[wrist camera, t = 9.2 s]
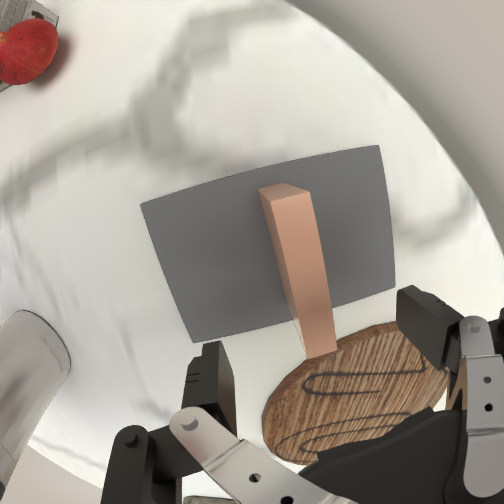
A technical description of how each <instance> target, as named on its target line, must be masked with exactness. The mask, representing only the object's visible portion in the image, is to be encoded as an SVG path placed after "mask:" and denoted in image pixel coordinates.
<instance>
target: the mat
mask: <svg viewBox="0 0 504 504" xmlns="http://www.w3.org/2000/svg"><path fill="white" fill-rule="evenodd" d="M282 182H284V183H286V184H289V185H292V186H295V187H298V188H301V189H303V190H306V191H309V192H310V196H311V201H312V205H313V210H314V214H315V219H316V224H317V228H318V233H319V238H320V243H321V248H322V254H323V259H324V265H325V270H326V276H327V282H328V288H329V294H330V300H331V307H332V308H335V307H338V306H341V305H344V304H347V303H351V302H354V301H357V300H360V299H363V298H366V297H369V296H372V295H374V294H377V293H380V292H383V291H386V290H389V289H391V288H394V287H395V263H394V247H393V235H392V225H391V216H390V207H389V200H388V193H387V186H386V180H385V174H384V168H383V163H382V158H381V153H380V148H379V145H375V146H368V147H362V148H356V149H350V150H344V151H338V152H333V153H328V154H322V155H317V156H312V157H308V158H303V159H298V160H294V161H289V162H285V163H280V164H276V165H272V166H268V167H263V168H259V169H255V170H251V171H248V172H244V173H240V174H236V175H232V176H229V177H225V178H221V179H218V180H214V181H211V182H208V183H204V184H201V185H197V186H194V187H191V188H188V189H184V190H181V191H178V192H175V193H172V194H169V195H166V196H163V197H160V198H157V199H154V200H151V201H148V202H145V203H142V204H140V206H141V209H142V212H143V215H144V219H145V222H146V225H147V228H148V231H149V234H150V237H151V239H152V242H153V245H154V248H155V251H156V254H157V256H158V259H159V262H160V265H161V267H162V270H163V272H164V275H165V278H166V280H167V283H168V285H169V288H170V290H171V293H172V295H173V298H174V300H175V303H176V305H177V308H178V310H179V312H180V315H181V317H182V319H183V322H184V324H185V326H186V329H187V331H188V333H189V335H190V338H191V340H192V342H193V343H197V342H202V341H207V340H212V339H217V338H221V337H226V336H230V335H235V334H239V333H243V332H247V331H252V330H256V329H260V328H264V327H268V326H272V325H275V324H279V323H283V322H287V321H290V320H293V318H292V315H291V312H290V310H289V307H288V304H287V301H286V297H285V293H284V288H283V284H282V280H281V277H280V273H279V269H278V265H277V261H276V257H275V253H274V249H273V245H272V241H271V237H270V234H269V230H268V226H267V222H266V218H265V215H264V211H263V207H262V203H261V200H260V196H259V192H258V189H259V188H263V187H267V186H270V185H274V184H278V183H282Z"/></svg>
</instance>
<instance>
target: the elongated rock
mask: <svg viewBox="0 0 504 504" xmlns="http://www.w3.org/2000/svg"><path fill="white" fill-rule="evenodd" d="M183 504H238V503H237V502H236V501H235V500H229V499H222V498H208V497H196V496H190V497H185V499H184V500H183Z"/></svg>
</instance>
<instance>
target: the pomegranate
mask: <svg viewBox="0 0 504 504" xmlns="http://www.w3.org/2000/svg"><path fill="white" fill-rule="evenodd" d="M58 41H59V38H58V33H57V31H56V28H55V26H54V25H53V24H51V23H50V22H48V21H46V20H43V19H39V18H32V19H28V20H25V21H22V22H19V23H17V24H15V25H14V26H12V27H11V28H10V29H9V30H7V31H6V32H2V31H1V32H0V79H1V80H2V81H4V82H5V83H7V84H9V85H21V84H26V83H28V82H30V81H32V80H33V79H35V78H36V77H38V76H39V75H41V74H42V73H43V72H44V71H45V69H46V68H47V67H48V66H49V65H50V63H51V62H52V60H53V59H54V56H55V54H56V51H57V48H58Z"/></svg>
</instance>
